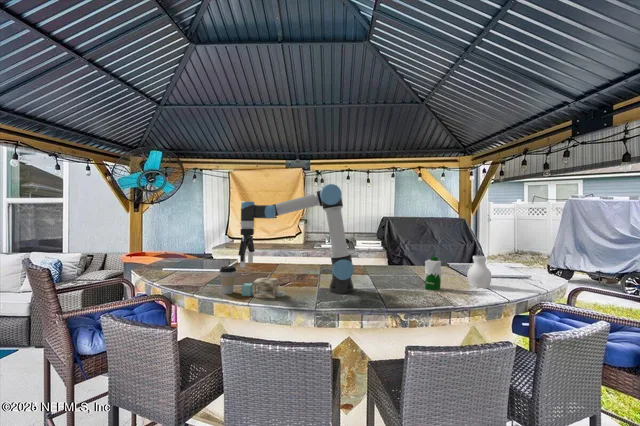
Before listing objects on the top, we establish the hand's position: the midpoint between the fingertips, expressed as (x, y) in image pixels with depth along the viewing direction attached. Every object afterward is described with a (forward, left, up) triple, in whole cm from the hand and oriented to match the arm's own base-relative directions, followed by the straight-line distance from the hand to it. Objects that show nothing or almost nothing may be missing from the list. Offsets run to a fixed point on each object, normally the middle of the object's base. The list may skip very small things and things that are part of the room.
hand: (246, 265), depth 169 cm
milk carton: (-113, -27, -18) cm, 117 cm away
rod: (-13, -1, -18) cm, 22 cm away
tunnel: (-12, 0, -17) cm, 21 cm away
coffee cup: (+12, -3, -18) cm, 22 cm away
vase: (-146, -37, -18) cm, 151 cm away
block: (0, -1, -17) cm, 17 cm away
